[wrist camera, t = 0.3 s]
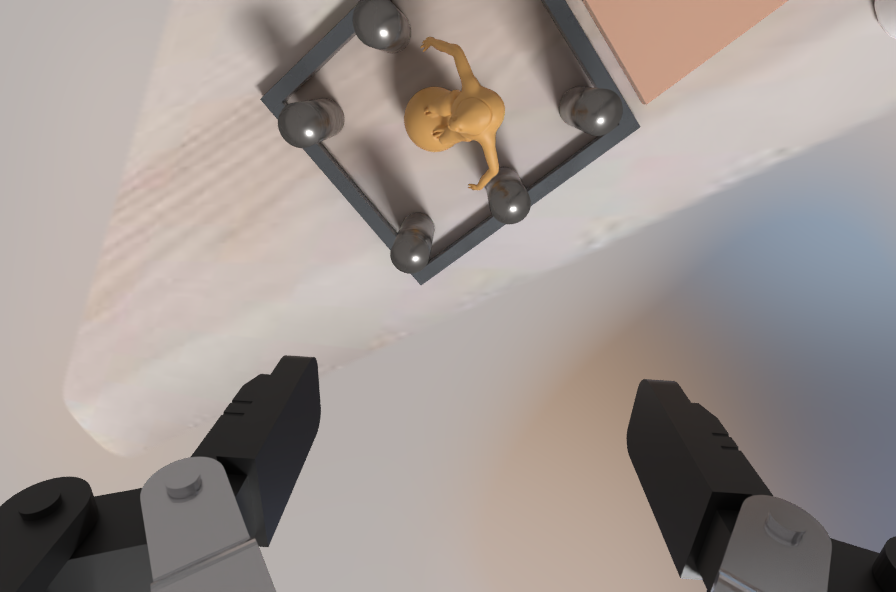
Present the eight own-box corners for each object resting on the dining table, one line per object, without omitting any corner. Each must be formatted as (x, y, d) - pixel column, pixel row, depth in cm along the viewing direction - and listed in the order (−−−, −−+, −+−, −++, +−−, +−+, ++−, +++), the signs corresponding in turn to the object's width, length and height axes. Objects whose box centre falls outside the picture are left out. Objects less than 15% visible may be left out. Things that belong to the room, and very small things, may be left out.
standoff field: (489, -120, 28) (496, -168, 23) (636, 125, 33) (670, 135, 28) (264, 98, 33) (225, 102, 28) (421, 281, 39) (414, 315, 33)
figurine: (386, 65, 32) (346, 59, 21) (472, 30, 31) (477, 5, 20) (430, 184, 35) (415, 232, 24) (510, 156, 34) (531, 193, 23)
